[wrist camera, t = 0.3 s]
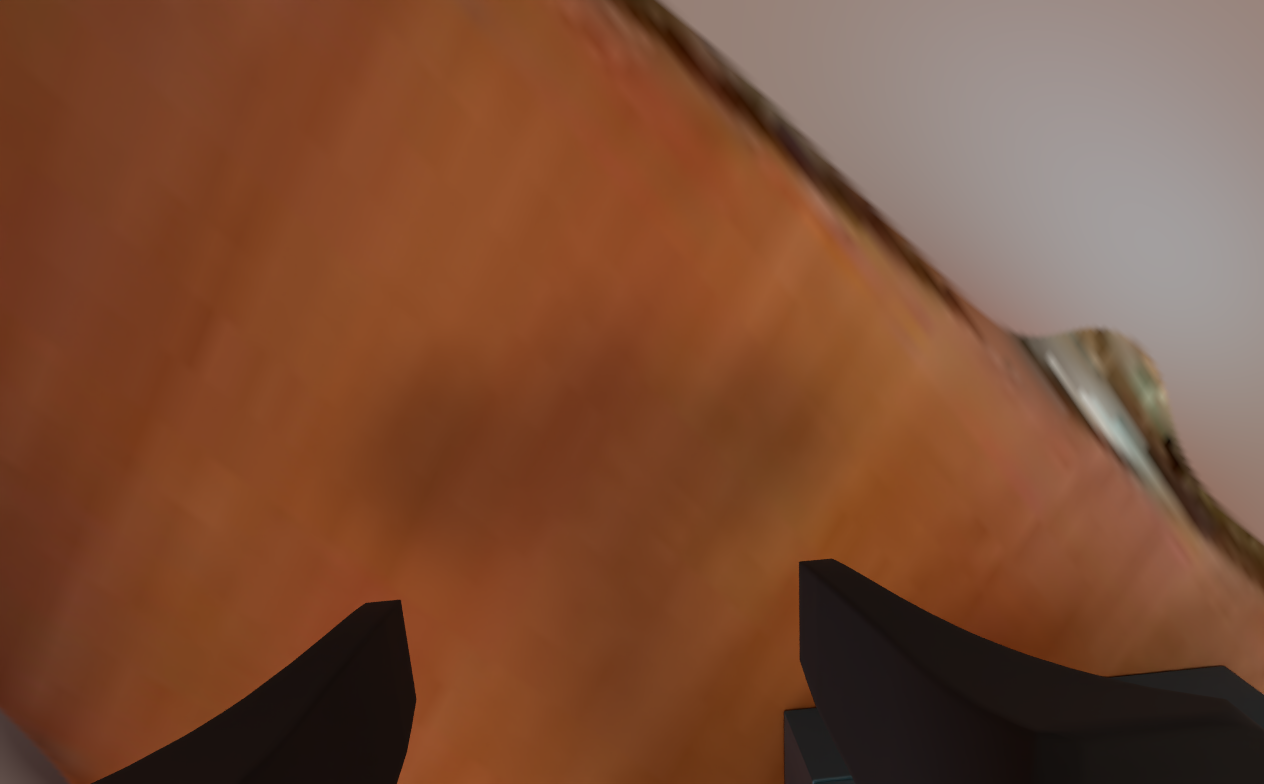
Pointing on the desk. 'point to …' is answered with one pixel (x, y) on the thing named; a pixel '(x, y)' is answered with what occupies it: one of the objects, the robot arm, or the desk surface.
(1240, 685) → the pencil box
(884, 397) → the desk surface
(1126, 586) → the desk surface
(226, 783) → the robot arm
